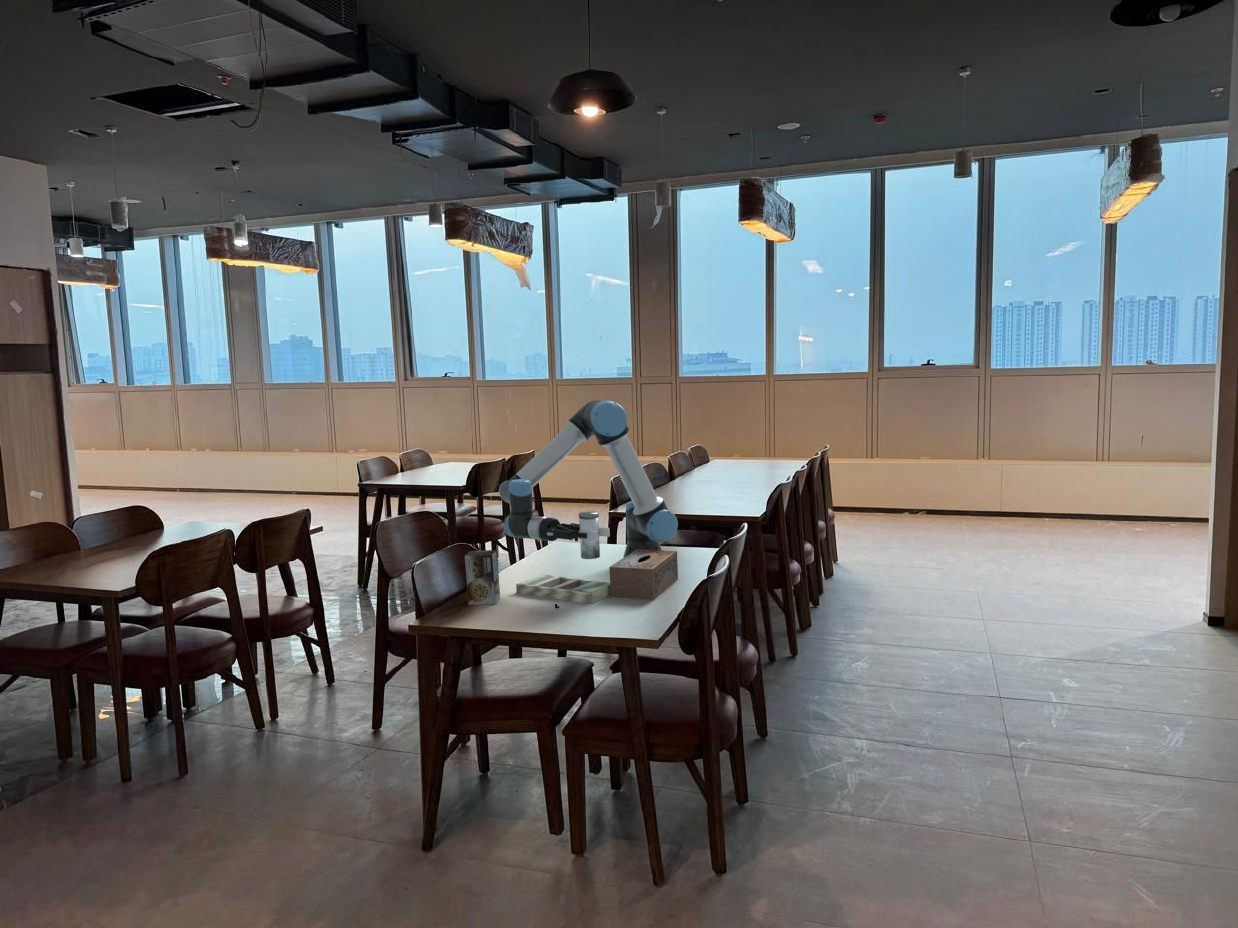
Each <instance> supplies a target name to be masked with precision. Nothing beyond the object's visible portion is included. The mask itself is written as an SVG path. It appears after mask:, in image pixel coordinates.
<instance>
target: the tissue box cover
mask: <svg viewBox="0 0 1238 928" xmlns="http://www.w3.org/2000/svg"><path fill="white" fill-rule="evenodd" d="M678 565H679V564H678V550H663V549H662V550H635V551H634V552H632V553H630V554H629V555H627V556H626V557H624V558H623V557H622V558H621V559H620V560H618V561H617V562H615V563H613V564H612V565H610V566H609V568H608V569H609V570H608V571H609V583H610V594H611V595H610V598H614V599H633V600H635V599H636V600H647V601H648V600H649V601H655V600H657V598H658V597H659V596H661V594H663V593H664V592H665V591H666V590H668V589H669V588H670V587H671V586H672V585H673V584H675V583H676V582H677V581H679V569H678V567H679V566H678Z"/></svg>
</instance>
